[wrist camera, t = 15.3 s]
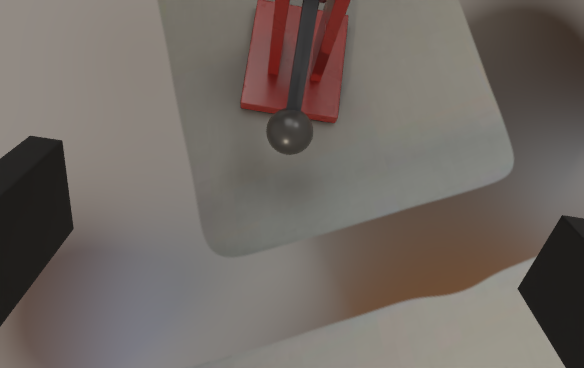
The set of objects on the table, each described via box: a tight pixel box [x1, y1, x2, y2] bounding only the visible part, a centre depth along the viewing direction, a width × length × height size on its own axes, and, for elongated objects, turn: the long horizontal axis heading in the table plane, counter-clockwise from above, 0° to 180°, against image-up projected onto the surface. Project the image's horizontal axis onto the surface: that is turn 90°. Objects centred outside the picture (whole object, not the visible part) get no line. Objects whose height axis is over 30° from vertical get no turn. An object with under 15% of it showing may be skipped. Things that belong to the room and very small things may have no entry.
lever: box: [266, 0, 327, 155], centre depth 31 cm, size 14×4×4 cm, turn 173°
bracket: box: [241, 0, 350, 123], centre depth 34 cm, size 11×9×14 cm
